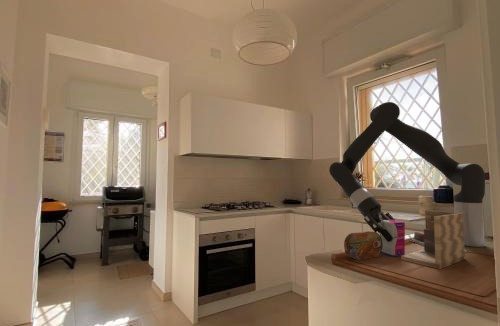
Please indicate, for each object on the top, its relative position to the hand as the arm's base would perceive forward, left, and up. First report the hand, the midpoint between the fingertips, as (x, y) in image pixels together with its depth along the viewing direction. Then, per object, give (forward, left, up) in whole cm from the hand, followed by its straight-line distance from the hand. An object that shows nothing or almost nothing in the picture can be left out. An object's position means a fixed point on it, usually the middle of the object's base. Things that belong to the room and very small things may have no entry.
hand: (396, 239), depth 92 cm
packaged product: (-27, +1, -6) cm, 28 cm away
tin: (+12, -5, -6) cm, 14 cm away
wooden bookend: (-6, +9, -5) cm, 12 cm away
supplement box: (0, -2, -6) cm, 6 cm away
